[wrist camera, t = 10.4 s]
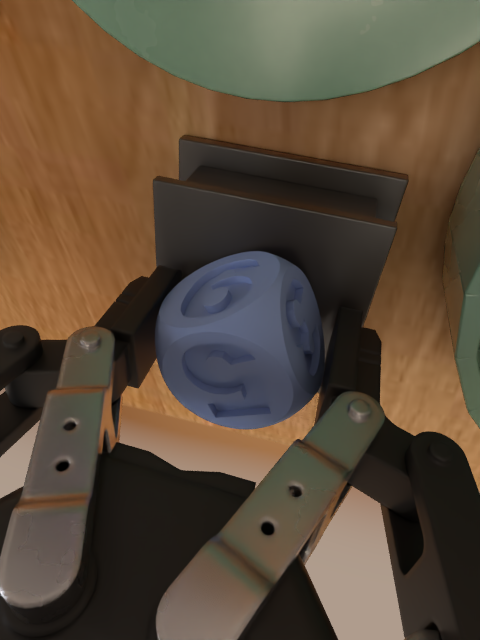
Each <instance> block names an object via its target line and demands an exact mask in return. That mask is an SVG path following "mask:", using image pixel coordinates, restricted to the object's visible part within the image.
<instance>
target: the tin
mask: <svg viewBox="0 0 480 640" xmlns="http://www.w3.org/2000/svg"><path fill="white" fill-rule="evenodd" d="M442 278H443V280H442V281H443V287H444V293H445V300H446V306H447V313H448V319H449V326H450V332H451V338H452V345H453V351H454V358H455V362H456V367H457V371H458V375H459V379H460V383H461V387H462V392H463V396H464V400H465V404H466V408H467V410H468V413H469V414H470V415H471V417H472V418H473V420H474V421H475V422H476V424H477V425H478V427H479V428H480V148H479V150H478V152H477V154H476V156H475V158H474V160H473V162H472V164H471V166H470V168H469V170H468V172H467V174H466V176H465V178H464V180H463V182H462V184H461V186H460V189H459V192H458V195H457V198H456V201H455V204H454V207H453V210H452V212H451V215H450V218H449V223H448V230H447V235H446V240H445V246H444V266H443V275H442Z"/></svg>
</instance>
